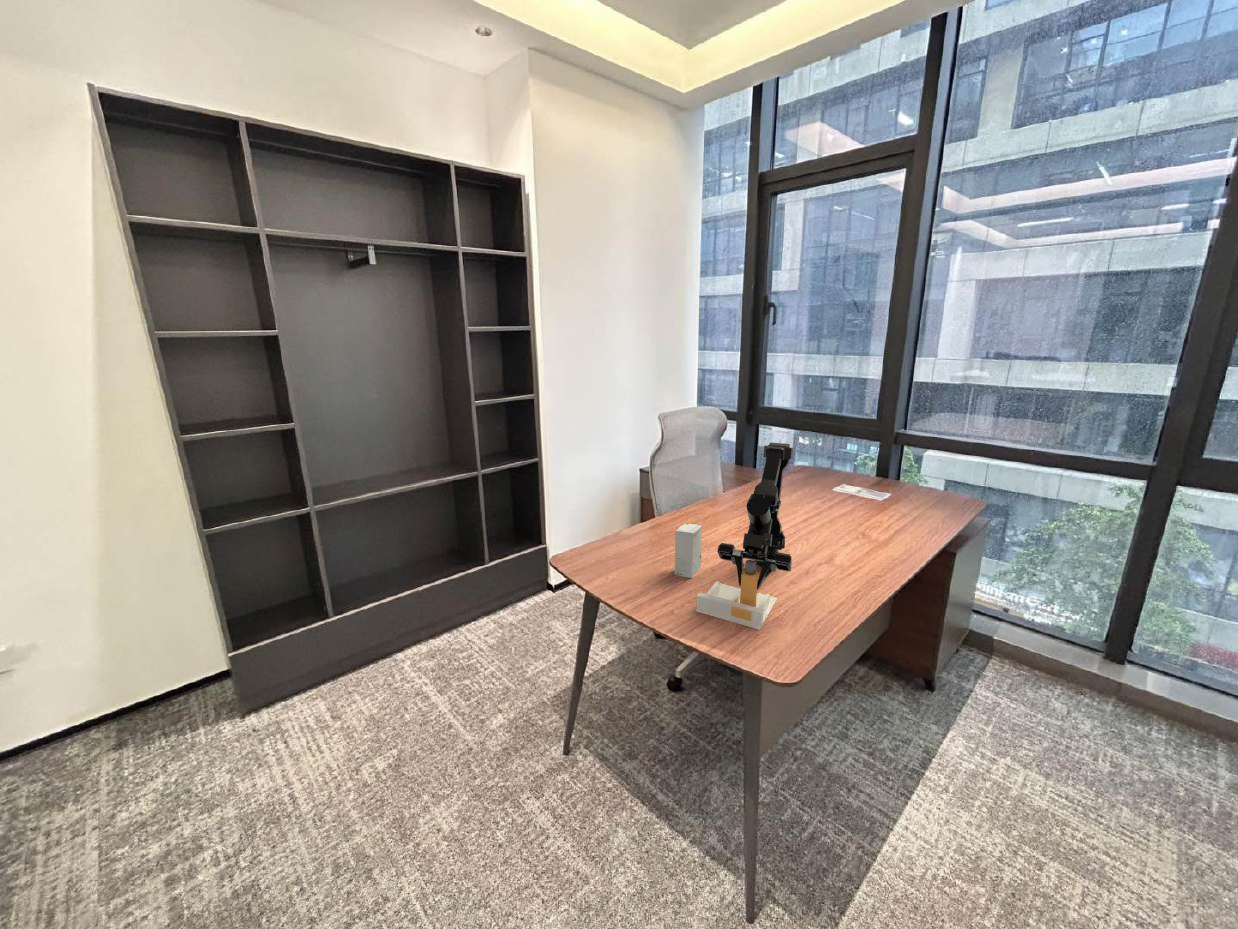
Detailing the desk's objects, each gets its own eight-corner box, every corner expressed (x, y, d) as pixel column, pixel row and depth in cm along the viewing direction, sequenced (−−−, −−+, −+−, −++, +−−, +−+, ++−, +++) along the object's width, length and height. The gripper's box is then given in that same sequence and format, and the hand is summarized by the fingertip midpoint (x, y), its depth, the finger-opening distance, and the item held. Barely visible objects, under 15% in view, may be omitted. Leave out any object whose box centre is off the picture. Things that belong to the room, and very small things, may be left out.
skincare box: (691, 580, 150) (693, 534, 146) (673, 575, 153) (674, 530, 149) (701, 569, 157) (703, 524, 153) (683, 565, 160) (684, 521, 156)
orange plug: (740, 602, 134) (743, 557, 131) (756, 605, 133) (759, 559, 129) (739, 610, 130) (742, 564, 127) (755, 612, 129) (758, 566, 126)
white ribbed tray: (718, 584, 147) (719, 570, 146) (777, 599, 138) (778, 584, 137) (695, 612, 132) (695, 597, 131) (759, 631, 123) (760, 615, 122)
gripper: (720, 514, 133) (708, 569, 126) (794, 525, 125) (785, 584, 118) (726, 532, 142) (714, 584, 135) (795, 543, 134) (786, 599, 127)
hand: (748, 587), depth 129 cm, fingers closed on orange plug, 4 cm apart
